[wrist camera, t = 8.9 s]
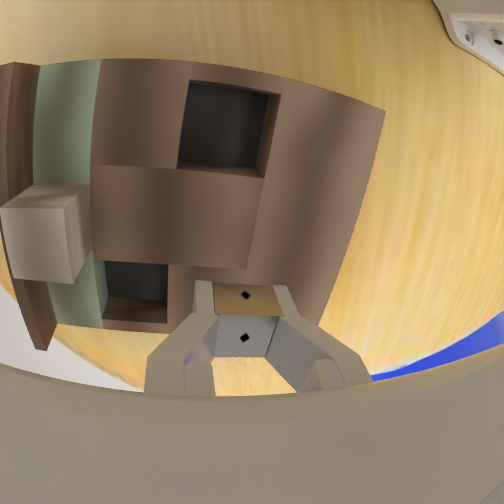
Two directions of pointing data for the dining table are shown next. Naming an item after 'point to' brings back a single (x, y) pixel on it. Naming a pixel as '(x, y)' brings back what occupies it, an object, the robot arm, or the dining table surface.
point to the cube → (48, 232)
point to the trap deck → (184, 183)
